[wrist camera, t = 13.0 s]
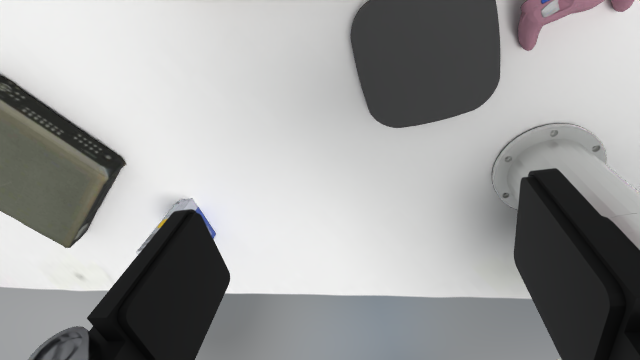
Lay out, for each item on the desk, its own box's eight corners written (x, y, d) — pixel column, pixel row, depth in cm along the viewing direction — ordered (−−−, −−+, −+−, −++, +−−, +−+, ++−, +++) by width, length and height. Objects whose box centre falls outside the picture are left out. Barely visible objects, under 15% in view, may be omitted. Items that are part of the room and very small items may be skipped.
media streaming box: (496, 97, 40) (504, 106, 38) (374, 127, 44) (374, 137, 42) (486, -43, 33) (496, -44, 31) (343, 7, 37) (341, 9, 35)
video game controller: (612, -33, 33) (655, -75, 27) (628, 10, 33) (675, -21, 27) (505, 16, 37) (520, -11, 30) (519, 55, 37) (538, 38, 30)
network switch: (-31, 172, 58) (-63, 188, 53) (-29, 51, 46) (-70, 60, 41) (101, 238, 62) (81, 258, 58) (134, 144, 50) (113, 160, 46)
